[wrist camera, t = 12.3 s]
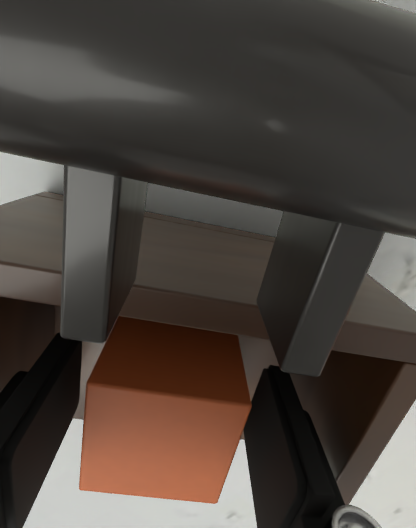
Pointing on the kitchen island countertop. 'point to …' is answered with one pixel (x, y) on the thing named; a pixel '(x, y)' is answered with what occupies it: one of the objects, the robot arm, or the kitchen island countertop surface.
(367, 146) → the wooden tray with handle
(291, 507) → the robot arm
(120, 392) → the block
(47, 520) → the kitchen island countertop surface
